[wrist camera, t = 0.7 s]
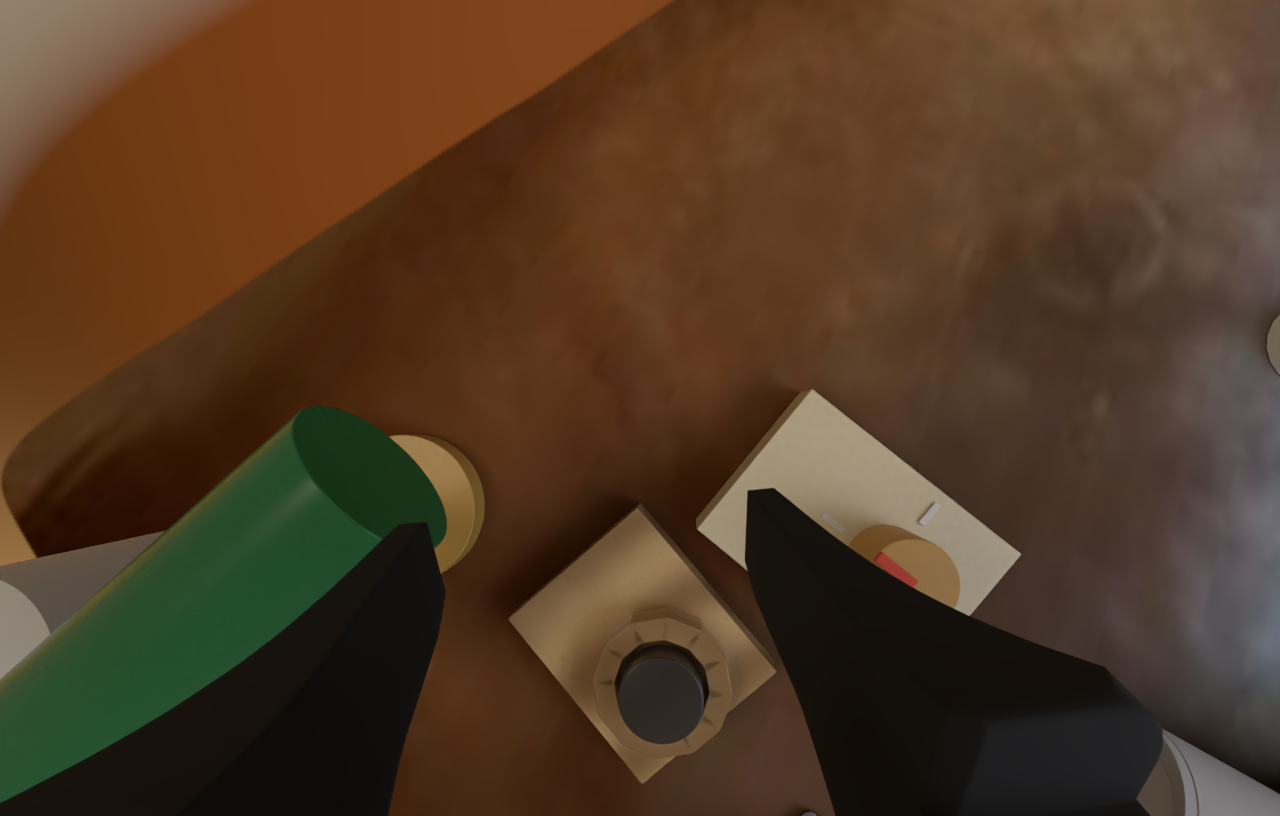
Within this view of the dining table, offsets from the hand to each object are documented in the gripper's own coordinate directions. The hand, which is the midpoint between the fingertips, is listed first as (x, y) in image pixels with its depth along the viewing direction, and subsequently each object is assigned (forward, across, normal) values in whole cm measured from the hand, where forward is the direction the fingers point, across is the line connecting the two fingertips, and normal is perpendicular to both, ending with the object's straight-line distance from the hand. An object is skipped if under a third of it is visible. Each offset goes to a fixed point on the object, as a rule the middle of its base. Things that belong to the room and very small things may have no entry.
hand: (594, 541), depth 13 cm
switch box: (+14, -2, +19) cm, 24 cm away
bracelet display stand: (+20, +12, +12) cm, 26 cm away
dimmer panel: (+15, -14, +13) cm, 25 cm away
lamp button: (+10, -2, +18) cm, 21 cm away
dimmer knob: (+12, -15, +13) cm, 23 cm away
